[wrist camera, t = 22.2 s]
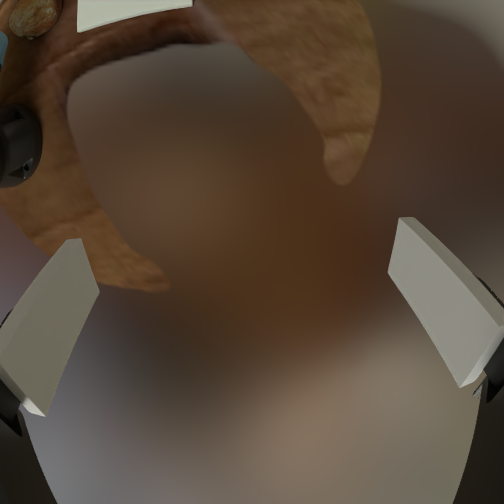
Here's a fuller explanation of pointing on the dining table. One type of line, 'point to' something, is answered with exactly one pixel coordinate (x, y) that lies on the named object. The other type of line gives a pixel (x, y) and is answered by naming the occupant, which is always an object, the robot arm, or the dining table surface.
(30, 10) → the bread roll
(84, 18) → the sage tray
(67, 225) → the dining table surface
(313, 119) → the dining table surface
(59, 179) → the dining table surface
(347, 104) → the dining table surface
